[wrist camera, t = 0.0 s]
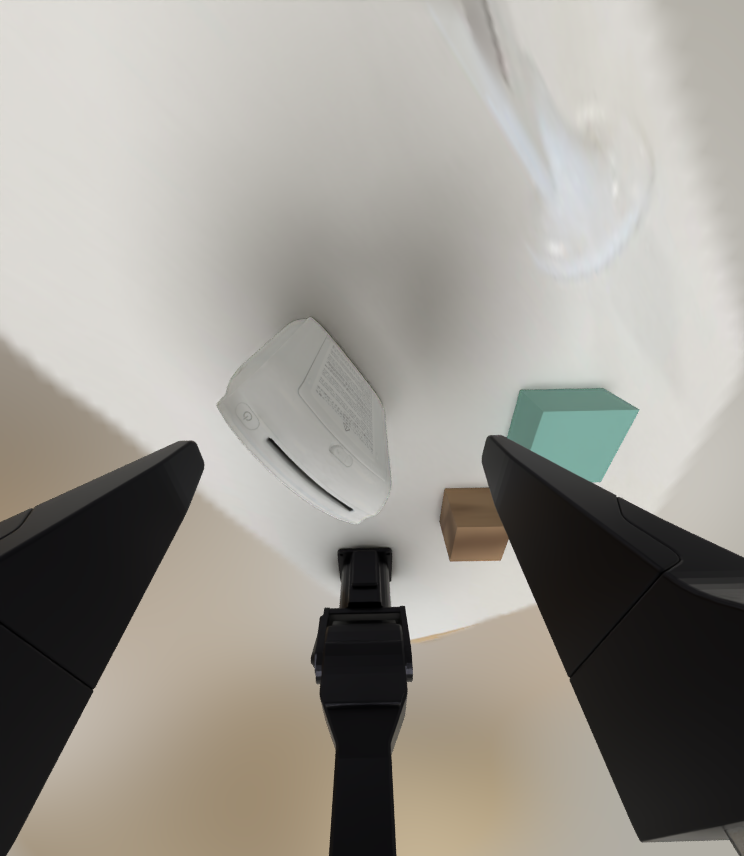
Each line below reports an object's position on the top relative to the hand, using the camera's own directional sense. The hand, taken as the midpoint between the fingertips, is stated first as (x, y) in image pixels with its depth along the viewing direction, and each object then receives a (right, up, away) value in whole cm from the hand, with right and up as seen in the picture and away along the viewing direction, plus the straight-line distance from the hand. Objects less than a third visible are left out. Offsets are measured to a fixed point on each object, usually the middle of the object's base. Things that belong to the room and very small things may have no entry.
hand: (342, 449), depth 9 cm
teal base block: (+17, +1, +17) cm, 24 cm away
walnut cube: (+11, -8, +22) cm, 26 cm away
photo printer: (-2, +5, +14) cm, 15 cm away
